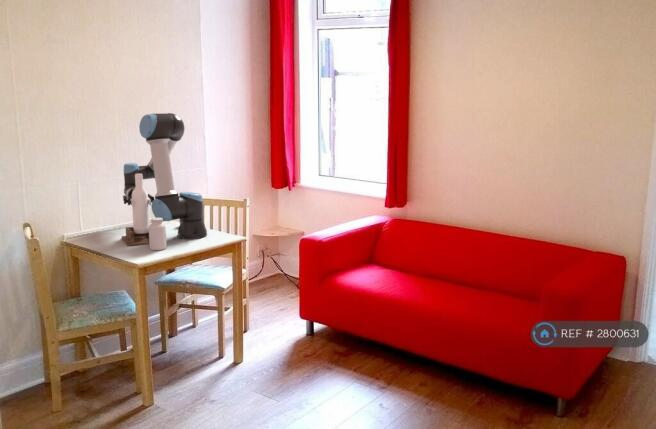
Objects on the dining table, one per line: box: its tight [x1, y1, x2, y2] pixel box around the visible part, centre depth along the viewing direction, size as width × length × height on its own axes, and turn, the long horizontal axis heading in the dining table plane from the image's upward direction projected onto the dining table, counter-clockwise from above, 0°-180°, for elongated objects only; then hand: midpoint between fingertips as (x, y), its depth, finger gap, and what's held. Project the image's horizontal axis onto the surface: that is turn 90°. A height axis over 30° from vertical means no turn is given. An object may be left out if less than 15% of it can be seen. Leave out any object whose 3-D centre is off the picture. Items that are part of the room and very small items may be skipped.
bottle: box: [131, 174, 150, 234], centre depth 307 cm, size 8×8×30 cm
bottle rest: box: [121, 226, 149, 247], centre depth 310 cm, size 18×18×6 cm
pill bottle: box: [148, 217, 167, 251], centre depth 295 cm, size 8×8×15 cm
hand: (141, 203), depth 303 cm, fingers closed on bottle, 8 cm apart
